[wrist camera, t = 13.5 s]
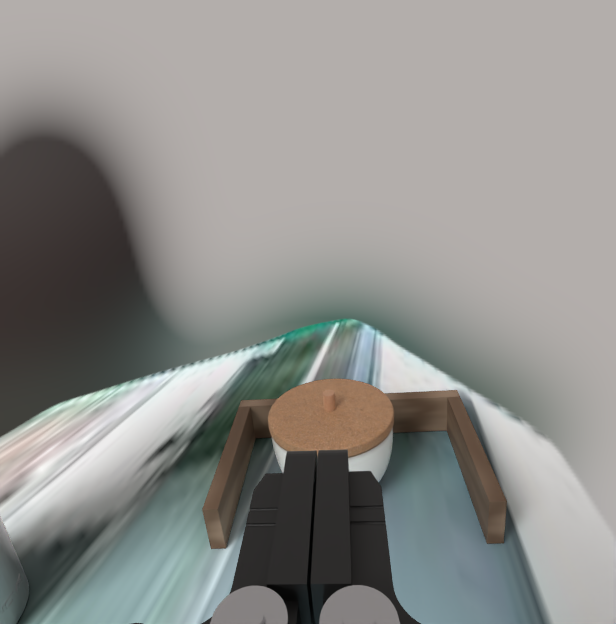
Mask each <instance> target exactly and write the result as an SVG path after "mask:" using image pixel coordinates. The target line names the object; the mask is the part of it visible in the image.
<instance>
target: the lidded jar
mask: <svg viewBox="0 0 616 624" xmlns="http://www.w3.org/2000/svg"><path fill="white" fill-rule="evenodd" d="M268 425H269V431H270V433H271V436H272V442H273V447H274V451H275V455H276V458H277V461H278V464H279V466H280V468H281V470H282V472H284V465H285V459H286V453H287V451H315V450H316V451H317V456H318V451H319V450H344V449H348V460H349V471H371V472H372V474H373V475H374V477H375V478H376V480H377V481H378V482H379V481H380V480H381V479H382V477H383V475H384V473H385V471H386V469H387V467H388V464H389V460H390V457H391V453H392V445H393V425H394V409H393V405H392V403H391V401H390V399H389V398H388V397H387V396H386V395H385V394H384V393H383V392H382V391H381V390H379V389H377V388H376V387H374V386H371V385H369V384H367V383H363V382H360V381H355V380H348V379H325V380H317V381H313V382H309V383H305V384H302V385H299V386H297V387H295V388H293V389H291V390H289V391H287V392H286V393H284V394H283V395H282V396H280V397H279V398H278V399H277V400H276V401H275V403H274V404H273V405H272V407H271V409H270V411H269V415H268Z"/></svg>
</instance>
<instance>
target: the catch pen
mask: <svg viewBox="0 0 616 624" xmlns="http://www.w3.org/2000/svg"><path fill="white" fill-rule="evenodd" d="M385 395H386V396H387V397H388V398H389V399H390V401H391V403H392V405H393V409H394V425H393V433H398V432H423V431H447V432H448V435H449V438H450V441H451V444H452V446H453V449H454V452H455V455H456V458H457V460H458V463H459V466H460V469H461V472H462V475H463V477H464V480H465V483H466V486H467V489H468V491H469V494H470V497H471V500H472V503H473V506H474V508H475V511H476V514H477V517H478V520H479V522H480V525H481V528H482V531H483V534H484V536H485V539H486V542H487V544H490V543H504V531H505V518H506V505H507V501H506V499H505V496H504V494H503V492H502V490H501V487H500V485H499V483H498V481H497V478H496V476H495V474H494V472H493V470H492V467H491V465H490V463H489V461H488V458H487V456H486V454H485V452H484V449H483V447H482V445H481V443H480V441H479V438H478V436H477V434H476V432H475V429H474V427H473V425H472V423H471V420H470V418H469V416H468V414H467V412H466V409H465V407H464V405H463V403H462V400H461V398H460V396H459V394H458V391H457V390H449V391H428V392H407V393H386V394H385ZM276 400H277V399H262V400H241V402H240V405H239V408H238V411H237V414H236V416H235V419H234V422H233V425H232V428H231V430H230V433H229V436H228V439H227V442H226V444H225V447H224V450H223V453H222V456H221V458H220V461H219V464H218V467H217V470H216V472H215V475H214V478H213V481H212V484H211V486H210V489H209V492H208V495H207V498H206V500H205V503H204V506H203V509H202V511H203V515H204V519H205V524H206V528H207V533H208V537H209V541H210V546H211V549H222V548H226V547H227V543H228V539H229V535H230V532H231V528H232V524H233V520H234V517H235V513H236V509H237V505H238V502H239V498H240V494H241V491H242V487H243V483H244V479H245V476H246V472H247V468H248V464H249V461H250V457H251V453H252V449H253V446H254V442H255V438H272V436H271V433H270V431H269V425H268V415H269V411H270V409H271V407H272V405H273V404H274V403H275V401H276Z"/></svg>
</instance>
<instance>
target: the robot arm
mask: <svg viewBox="0 0 616 624" xmlns="http://www.w3.org/2000/svg"><path fill="white" fill-rule="evenodd" d="M28 597H29V583H28V579H27V577H26V574H25V572H24V570H23V567H22V565H21V563H20V561H19V558H18V556H17V554H16V551H15V549H14V547H13V544H12V542H11V539H10V537H9V534H8V532H7V530H6V528H5V525H4V523H3V521H2V518H1V516H0V624H16V623H17V622H18V620H19V618H20V617H21V615H22V613H23V611H24V609H25V606H26V603H27V600H28ZM133 624H142V623H133ZM202 624H421V623H419V622H417V621H416V620H415V619H413V618H412V617H411V616H410V615H409V614H408V613H407V612H406V611H405V610H404V609H403V608H402V606H401V605H400V603H399V601H398V600H397V598H396V595H395V592H394V588H393V582H392V573H391V565H390V556H389V548H388V539H387V531H386V524H385V514H384V506H383V497H382V489H381V485H380V484H379V483H378V481H377V480H376V478H375V477H374V475H373V474H372V472H371V471H349V460H348V449H344V450H319V451H318V456H317V451H316V450H315V451H287V453H286V459H285V465H284V472H283V473H273V474H265V476H264V477H263V478H262V480H261V481H260V482H259V484H258V485H257V486H256V488H255V489H254V492H253V496H252V501H251V505H250V512H249V514H248V518H247V523H246V527H245V532H244V536H243V541H242V545H241V549H240V554H239V558H238V563H237V567H236V572H235V576H234V581H233V585H232V588H231V592H230V594H229V595H228V596H227V597H226V598H225V599H224V600H223V601H222V602H221V603H220V604H219V605H218V607H217V608H216V610H215V612H214V614H213V616H212V617H211V618H210V619H208V620H207V621H205V622H204V623H202Z"/></svg>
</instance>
